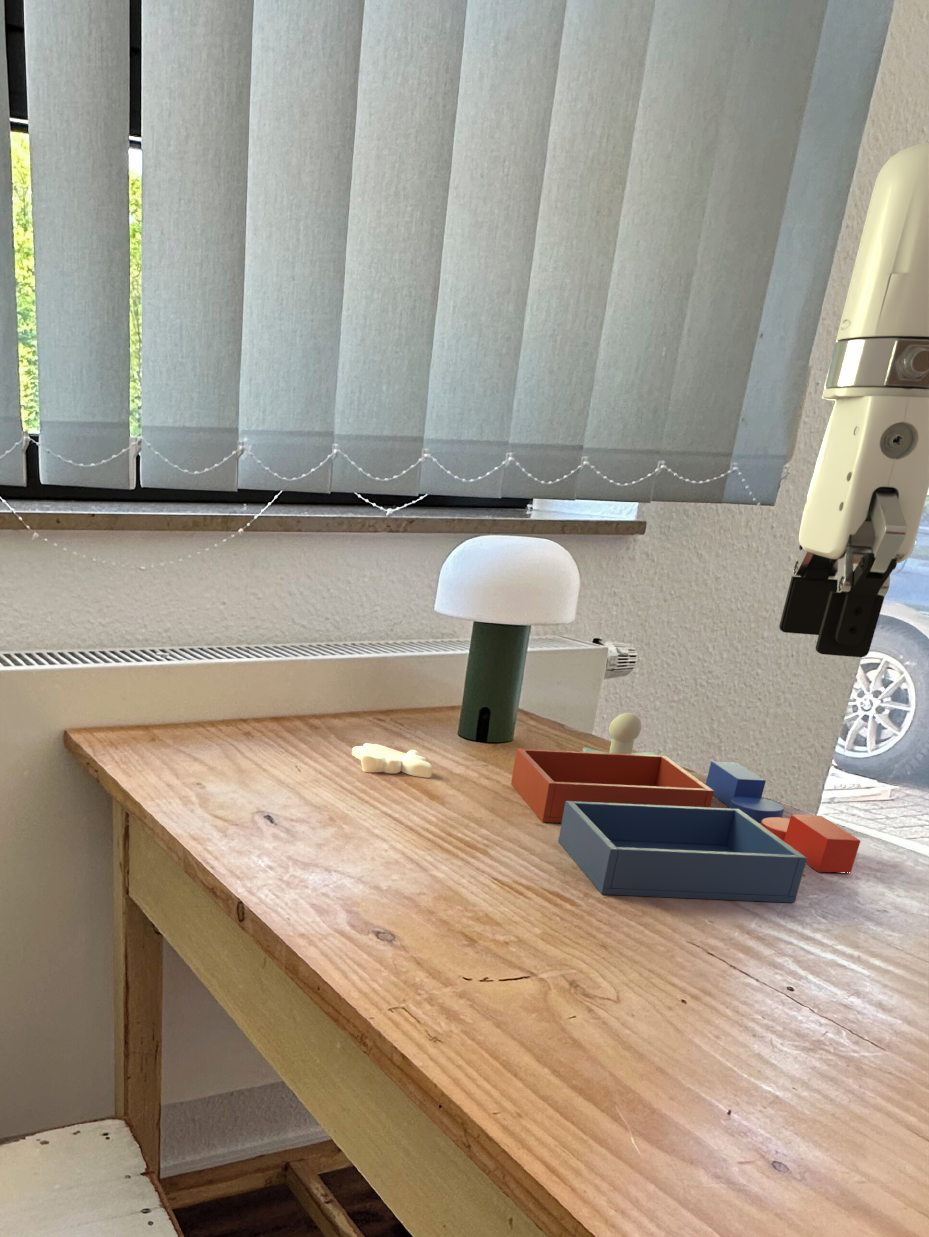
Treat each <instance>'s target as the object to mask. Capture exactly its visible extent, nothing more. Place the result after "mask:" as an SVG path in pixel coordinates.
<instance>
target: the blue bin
mask: <svg viewBox="0 0 929 1237" xmlns="http://www.w3.org/2000/svg"><path fill="white" fill-rule="evenodd" d="M559 830H560V831H559V835H558V840H557V843H559V845H560V846H561V847H562V848H563V849H564V850H565V852H566V853H567V854H568V855H569V857H570V858H571V859H572V860H573V861H574V863H575V864H576V865H577V866H578V867H579V869H580V870H581V872H583V874H584V875H585V876H586V877H587V879H588V880H589V881H590V883H591V884H592V885H593V886H594V888H596V889H597V891H598V892H599V894H600V895H606V896H607V895H608V896H631V897H652V898H673V899H675V898H676V899H697V900H723V901H742V902H743V901H745V902H766V903H787V904H788V903H791V904H793V903H796V900H797V895H798V892H799V888H800V885H801V882H802V877H803V874H804V872H805V867H806V865H807V864H806V861H807V858H806V857H805V856H803V855H802V854H801V853H799V852H798V851H797V850H795V849H794V848H792V847H791V846H790V845H788V844H787V843H785V842H784V841H783V840H781V839H780V838H779V837H777V836H776V835H774V834H773V833H772V832H770V831H769V830H767V829H766V828H765V827H763V826H762V825H761V823H758V822H756V821H755V820H754V819H752V818H751V817H749V816H748V815H747V814H745V813H744V812H743V811H741V810H740V809H730V808H728V807H727V808H726V807H710V808H708V807H687V806H665V805H644V804H622V803H600V802H579V801H566V802H565V807H564V812H563V818H562V823H560V829H559Z"/></svg>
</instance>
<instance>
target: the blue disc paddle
mask: <svg viewBox="0 0 929 1237" xmlns="http://www.w3.org/2000/svg"><path fill="white" fill-rule="evenodd" d="M766 782H767V781H766V779H764V778H763V777H761V776H759V775H758V774H756V773H755V772H753V771H752V770H750V769H749V768H747V767H745V765H743V764H741V763H739V762H736V761H716V760H715V761H710V765H709V769H708V773H707V777H706V782H705V785H707V786H708V787H709V788H711V789H712V790H714V794H713V797H715V798H716V799H717V800H719V801H720V802H722V804H725V805H726V806H727V808H728V807H729V808H730V809H740V810H741V811H743V812H744V813H745V814H747V815H748V816H749V817H751V818H752V819H754V820H755V821H756V822H758V823H759V824H761V821H762V820H763V819H765V818H770V817H780V818H783V814H784V811H785V807H784V805H782V804H781V803H780V802H777V801H775V800H771V799H768V798H764V797H763V794H764V790H765V785H766Z"/></svg>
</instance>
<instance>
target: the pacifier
mask: <svg viewBox="0 0 929 1237" xmlns="http://www.w3.org/2000/svg"><path fill="white" fill-rule="evenodd" d="M641 731H642V721H641V719H640V717H639V716H638V715H637V714H635V713H633V712H623V713H621V714H619V715H617V716H615V717H614V719H613V720H612V721H611V723H610V724H609V727H608V734H609V737H610V739H611V742H610V746H609V751H608V752H607V751H603V750H596V749H594V748H590V747H587V746H583V747H582V752H601V753H622V754H643V755H659V756H660V754H659V753H658V752H653V751H643V752H642V751H641V752H633V748H634V747H633V746H634V743H635V740H636V739H637V738H638V737H639V735H640V733H641Z"/></svg>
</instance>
